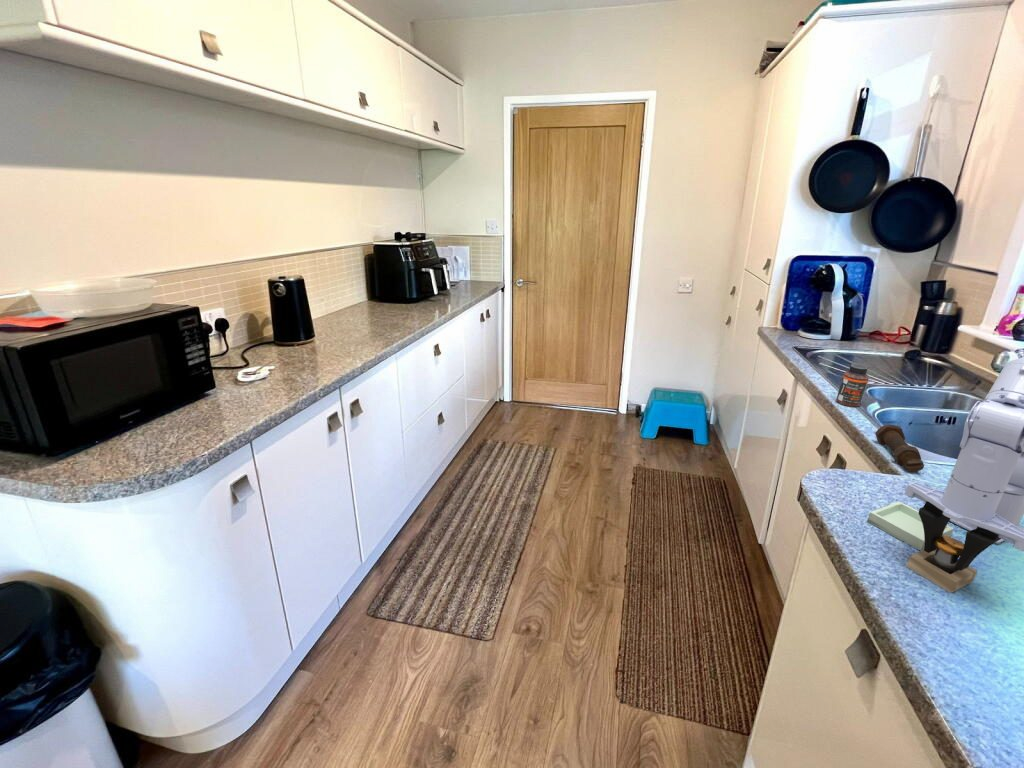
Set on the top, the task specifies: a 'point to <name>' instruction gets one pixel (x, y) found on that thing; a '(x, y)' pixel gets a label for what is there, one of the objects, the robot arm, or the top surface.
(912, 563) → the collar block
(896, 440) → the bolt
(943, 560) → the pin
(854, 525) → the top surface
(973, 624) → the top surface
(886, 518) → the parts tray
